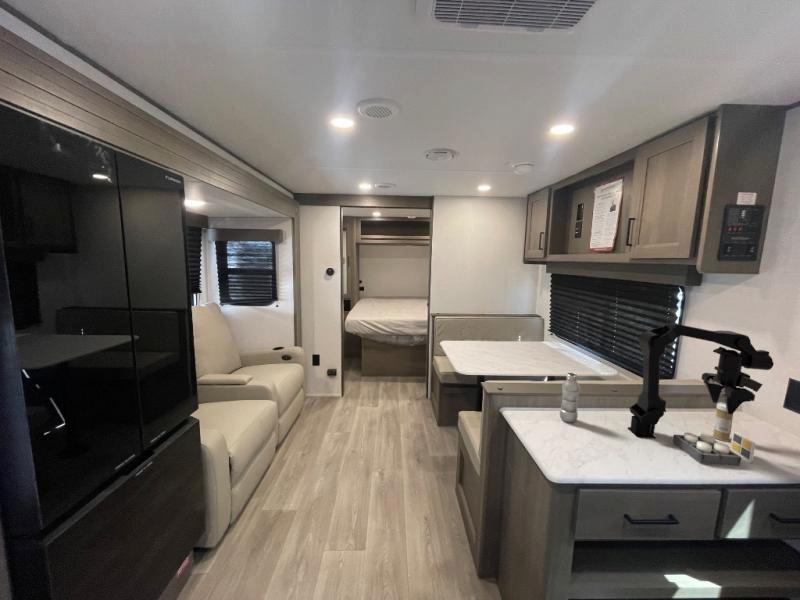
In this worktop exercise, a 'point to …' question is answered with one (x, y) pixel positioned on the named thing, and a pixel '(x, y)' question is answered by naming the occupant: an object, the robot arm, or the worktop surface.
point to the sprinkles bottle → (722, 423)
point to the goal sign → (742, 446)
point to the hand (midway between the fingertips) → (722, 408)
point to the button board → (706, 457)
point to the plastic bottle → (570, 398)
